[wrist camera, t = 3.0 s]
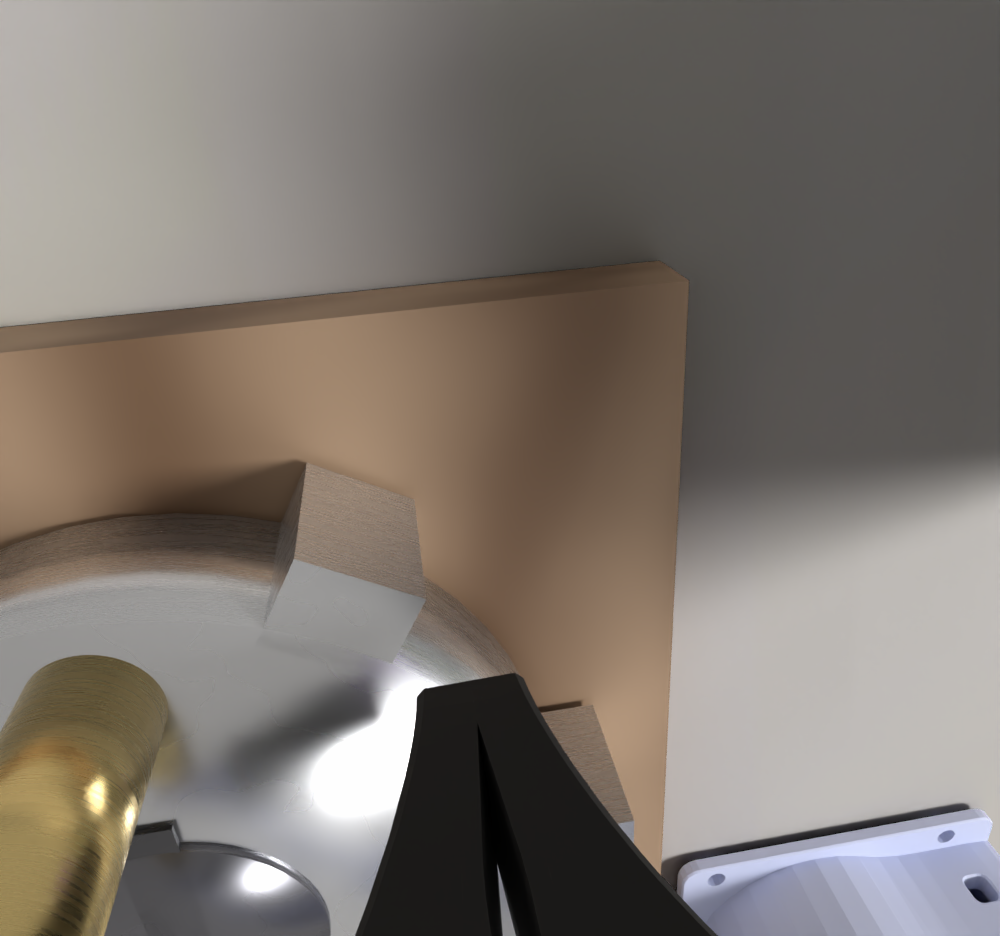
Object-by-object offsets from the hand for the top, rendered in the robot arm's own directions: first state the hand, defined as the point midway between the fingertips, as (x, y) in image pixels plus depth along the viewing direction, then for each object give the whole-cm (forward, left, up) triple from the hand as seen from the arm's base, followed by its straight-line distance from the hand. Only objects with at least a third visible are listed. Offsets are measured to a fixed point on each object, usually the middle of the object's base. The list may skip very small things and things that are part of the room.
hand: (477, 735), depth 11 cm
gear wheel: (+5, +6, -5) cm, 9 cm away
